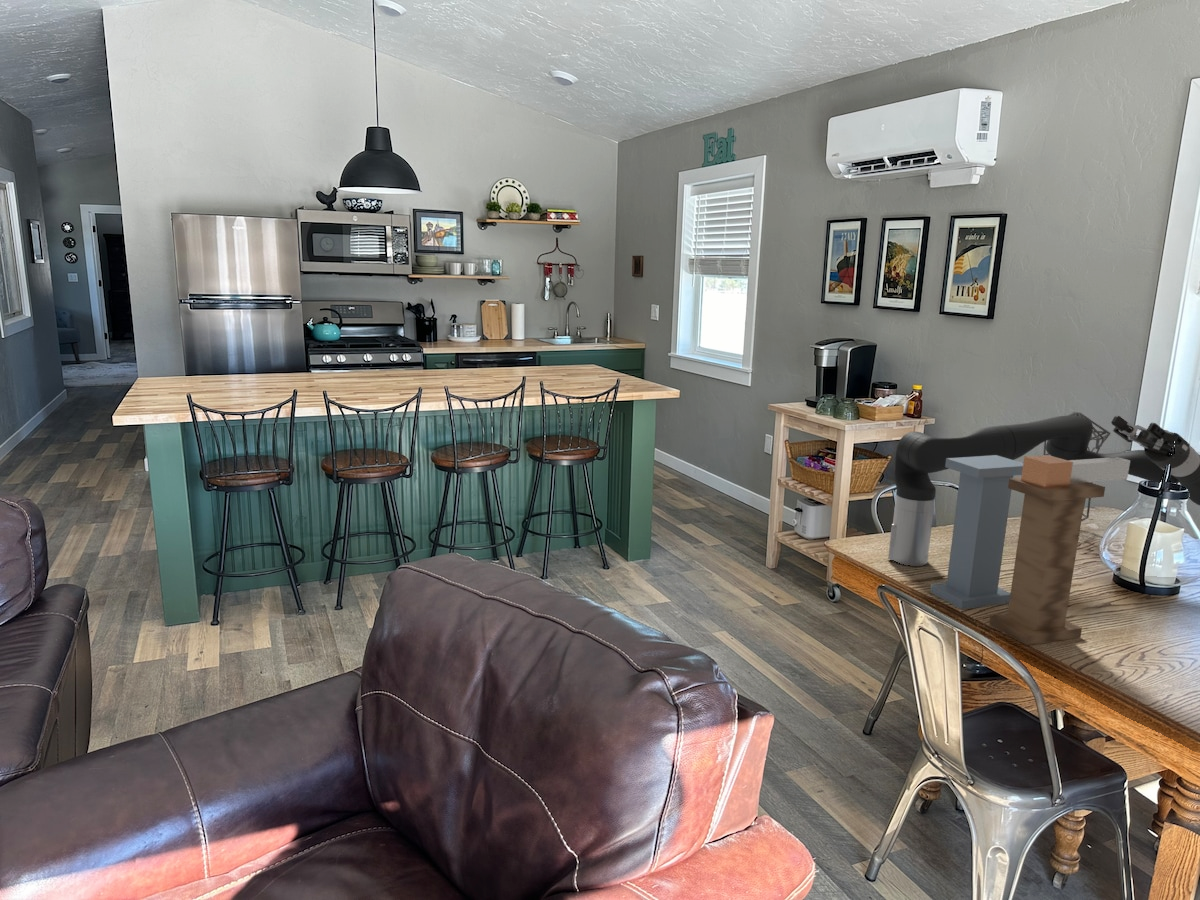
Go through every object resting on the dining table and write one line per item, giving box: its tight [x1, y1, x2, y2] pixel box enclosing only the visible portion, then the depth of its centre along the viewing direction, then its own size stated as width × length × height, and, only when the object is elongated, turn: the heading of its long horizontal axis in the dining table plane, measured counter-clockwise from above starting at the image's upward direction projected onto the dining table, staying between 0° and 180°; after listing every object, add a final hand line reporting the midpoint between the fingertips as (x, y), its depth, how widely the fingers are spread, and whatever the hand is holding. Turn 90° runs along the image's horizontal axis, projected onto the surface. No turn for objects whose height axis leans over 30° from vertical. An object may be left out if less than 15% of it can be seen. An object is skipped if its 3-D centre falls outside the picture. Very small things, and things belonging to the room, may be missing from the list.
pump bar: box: [1020, 454, 1130, 489], centre depth 163 cm, size 23×6×5 cm, turn 108°
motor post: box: [929, 455, 1023, 610], centre depth 182 cm, size 14×10×32 cm
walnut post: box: [988, 477, 1106, 646], centre depth 165 cm, size 14×10×32 cm
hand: (1131, 422), depth 178 cm, fingers open, 8 cm apart
